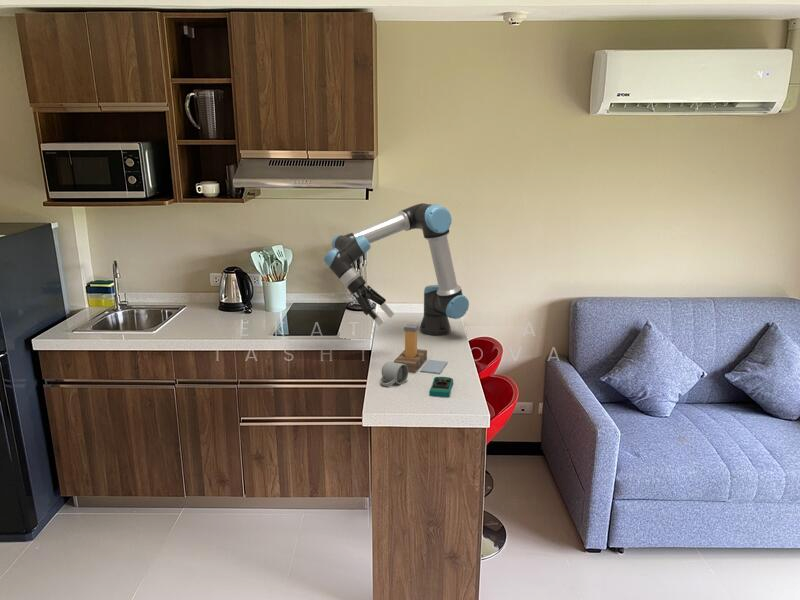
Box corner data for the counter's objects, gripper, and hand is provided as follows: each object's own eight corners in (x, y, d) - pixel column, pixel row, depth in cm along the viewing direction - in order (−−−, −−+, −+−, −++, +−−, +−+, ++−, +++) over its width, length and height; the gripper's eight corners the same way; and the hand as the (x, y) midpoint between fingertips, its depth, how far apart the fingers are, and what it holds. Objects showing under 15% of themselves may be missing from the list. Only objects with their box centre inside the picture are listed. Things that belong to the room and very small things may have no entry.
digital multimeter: (453, 383, 229) (453, 376, 228) (449, 398, 215) (449, 391, 214) (434, 382, 230) (434, 375, 230) (429, 397, 216) (429, 389, 215)
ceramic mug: (391, 376, 235) (391, 357, 233) (408, 380, 230) (408, 362, 228) (374, 384, 226) (374, 365, 224) (392, 389, 222) (392, 370, 220)
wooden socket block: (406, 356, 258) (406, 347, 257) (426, 359, 255) (427, 350, 254) (393, 370, 241) (393, 361, 240) (415, 373, 238) (415, 363, 237)
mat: (429, 360, 253) (429, 359, 253) (447, 363, 250) (447, 361, 250) (420, 371, 240) (420, 370, 240) (439, 374, 238) (439, 372, 237)
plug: (406, 362, 251) (407, 323, 247) (417, 363, 250) (418, 325, 246) (403, 365, 247) (404, 327, 243) (414, 367, 245) (415, 328, 241)
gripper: (358, 281, 260) (390, 318, 260) (335, 293, 237) (370, 333, 236) (369, 270, 258) (402, 307, 257) (347, 280, 235) (383, 321, 234)
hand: (387, 319), depth 247 cm, fingers open, 13 cm apart
